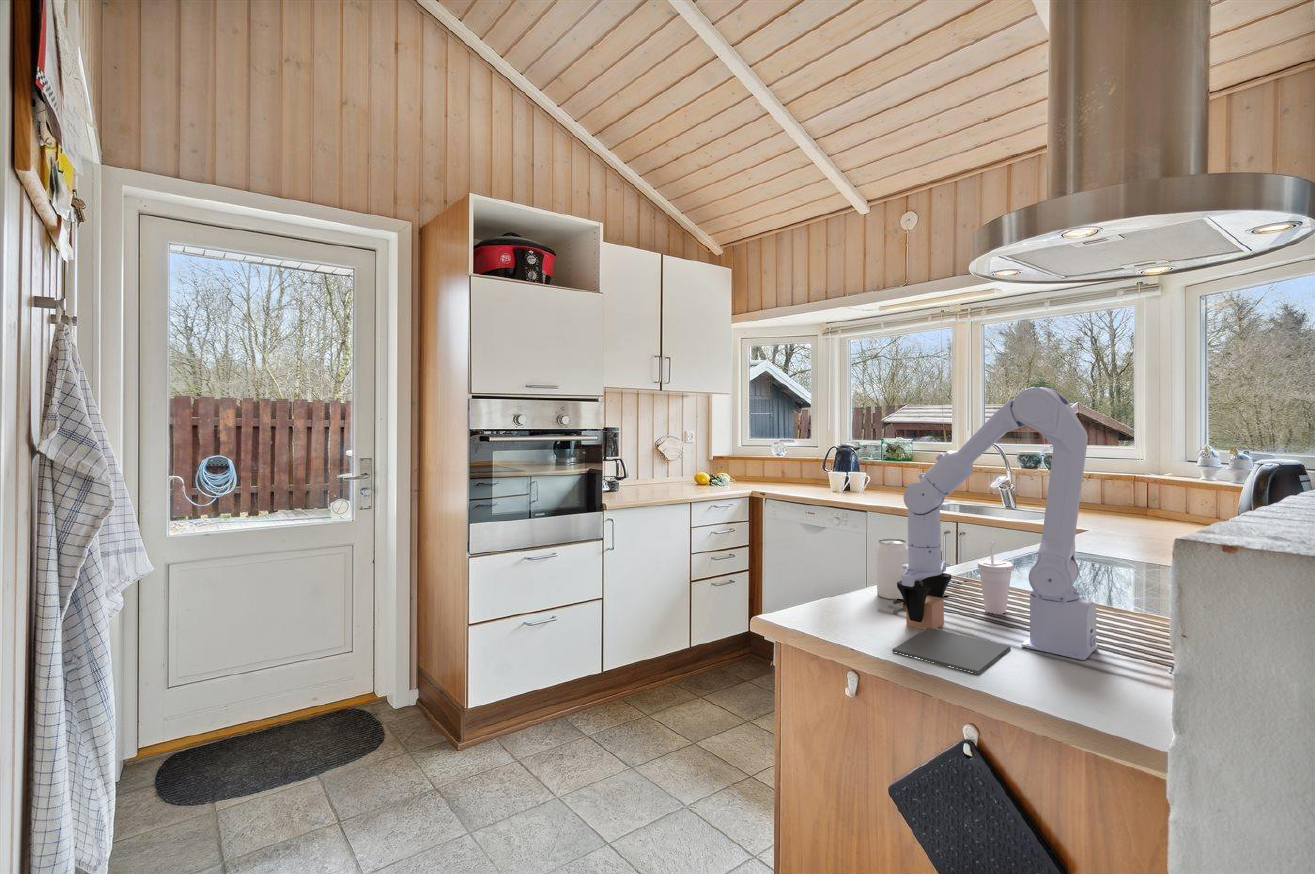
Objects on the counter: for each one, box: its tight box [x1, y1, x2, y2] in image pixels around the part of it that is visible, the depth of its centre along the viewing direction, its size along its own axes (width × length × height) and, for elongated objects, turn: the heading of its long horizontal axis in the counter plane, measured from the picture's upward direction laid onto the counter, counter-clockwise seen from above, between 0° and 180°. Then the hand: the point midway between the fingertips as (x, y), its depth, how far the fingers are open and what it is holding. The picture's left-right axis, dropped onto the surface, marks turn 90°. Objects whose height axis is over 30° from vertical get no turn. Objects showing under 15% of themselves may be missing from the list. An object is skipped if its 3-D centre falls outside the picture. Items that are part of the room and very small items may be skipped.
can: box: [876, 538, 908, 601], centre depth 145 cm, size 6×6×12 cm
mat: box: [891, 628, 1011, 675], centre depth 114 cm, size 14×14×1 cm
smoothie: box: [977, 540, 1015, 615], centre depth 133 cm, size 6×6×14 cm
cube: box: [905, 595, 945, 630], centre depth 127 cm, size 5×5×5 cm
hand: (925, 615), depth 127 cm, fingers open, 7 cm apart
